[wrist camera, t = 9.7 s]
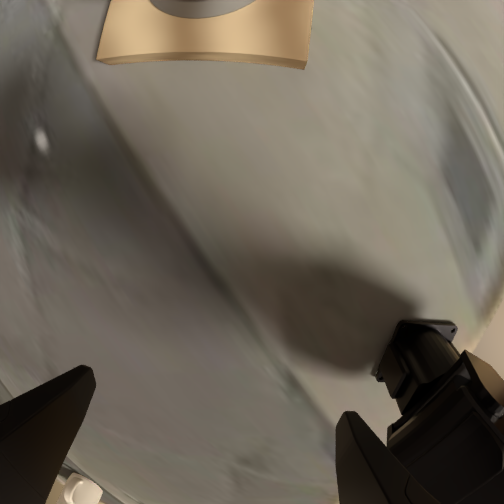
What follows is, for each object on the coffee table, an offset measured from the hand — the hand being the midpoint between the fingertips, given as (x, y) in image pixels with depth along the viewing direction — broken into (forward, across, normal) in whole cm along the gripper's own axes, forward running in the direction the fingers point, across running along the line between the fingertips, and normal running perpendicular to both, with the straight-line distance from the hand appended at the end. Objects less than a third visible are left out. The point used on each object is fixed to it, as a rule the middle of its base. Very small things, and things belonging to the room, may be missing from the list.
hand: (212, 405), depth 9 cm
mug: (+13, +28, +55) cm, 63 cm away
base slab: (+13, +5, -21) cm, 25 cm away
